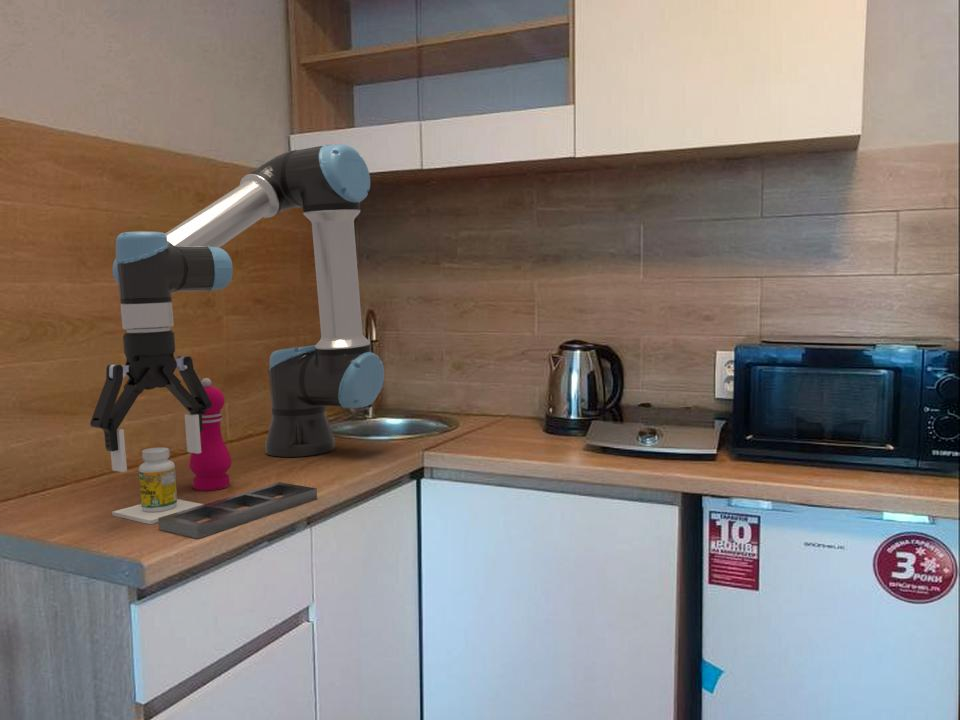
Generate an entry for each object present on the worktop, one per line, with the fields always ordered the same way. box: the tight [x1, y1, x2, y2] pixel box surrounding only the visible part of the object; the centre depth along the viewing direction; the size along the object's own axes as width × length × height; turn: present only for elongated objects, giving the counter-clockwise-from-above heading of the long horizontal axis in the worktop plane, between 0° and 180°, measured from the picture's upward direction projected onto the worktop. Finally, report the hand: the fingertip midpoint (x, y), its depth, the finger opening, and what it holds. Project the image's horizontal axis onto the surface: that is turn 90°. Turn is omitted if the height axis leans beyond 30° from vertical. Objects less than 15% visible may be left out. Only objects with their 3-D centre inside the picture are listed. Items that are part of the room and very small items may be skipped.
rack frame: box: [157, 481, 318, 540], centre depth 122 cm, size 24×9×2 cm, turn 148°
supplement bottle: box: [138, 447, 178, 512], centre depth 124 cm, size 5×5×10 cm
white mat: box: [111, 498, 204, 525], centre depth 124 cm, size 10×10×1 cm
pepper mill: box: [189, 377, 232, 492], centre depth 139 cm, size 7×7×20 cm
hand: (158, 461), depth 124 cm, fingers open, 13 cm apart
